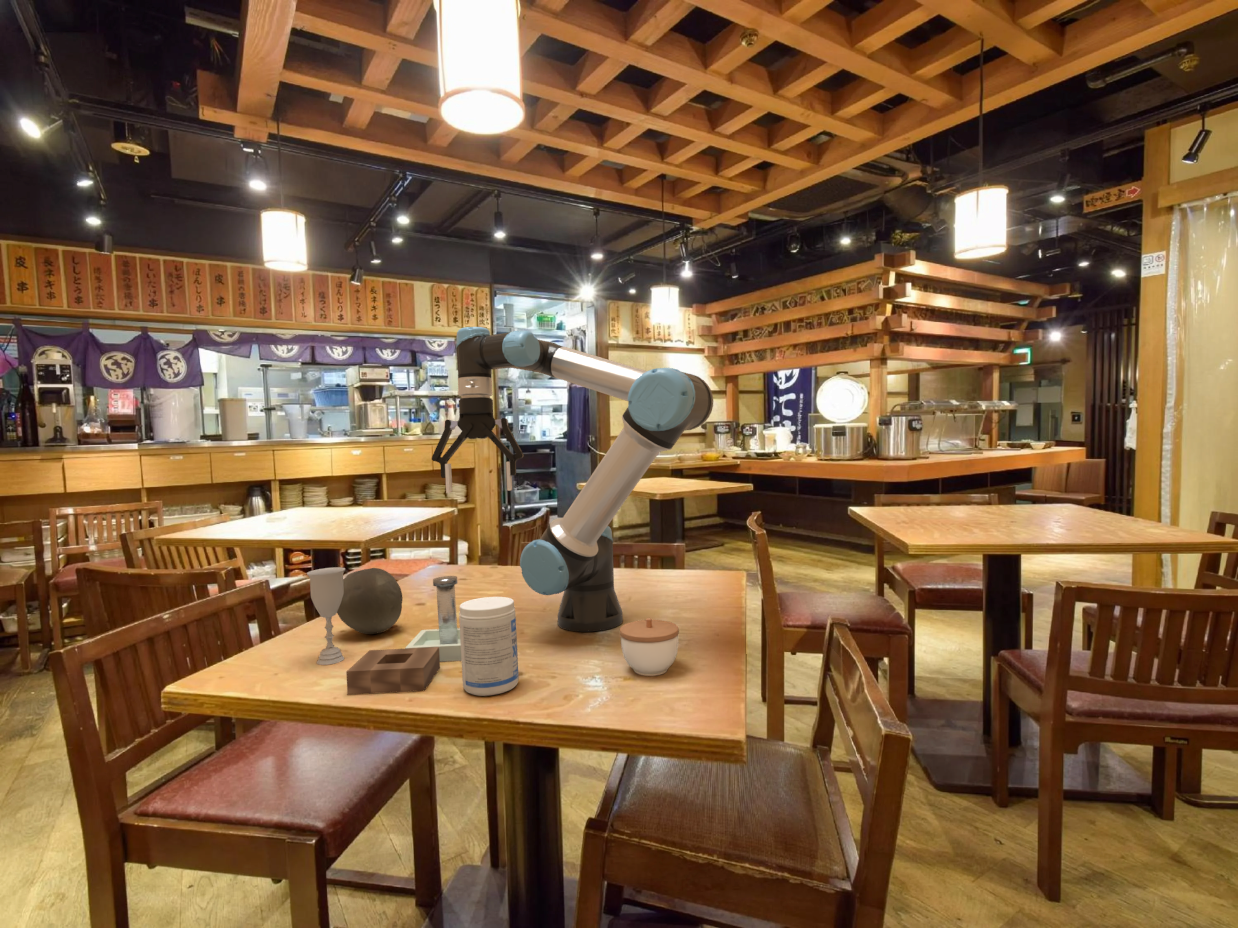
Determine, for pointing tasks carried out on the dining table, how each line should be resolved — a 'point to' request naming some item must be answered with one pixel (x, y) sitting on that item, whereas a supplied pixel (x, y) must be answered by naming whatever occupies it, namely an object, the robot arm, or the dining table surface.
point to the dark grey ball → (370, 601)
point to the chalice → (327, 606)
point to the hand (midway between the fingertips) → (479, 491)
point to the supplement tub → (488, 645)
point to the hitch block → (393, 670)
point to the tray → (437, 644)
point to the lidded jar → (649, 645)
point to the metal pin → (446, 609)
